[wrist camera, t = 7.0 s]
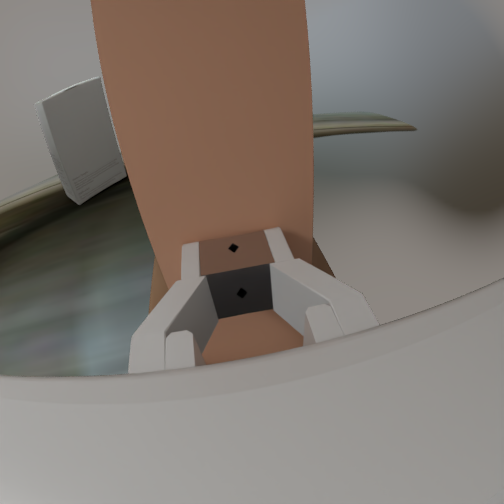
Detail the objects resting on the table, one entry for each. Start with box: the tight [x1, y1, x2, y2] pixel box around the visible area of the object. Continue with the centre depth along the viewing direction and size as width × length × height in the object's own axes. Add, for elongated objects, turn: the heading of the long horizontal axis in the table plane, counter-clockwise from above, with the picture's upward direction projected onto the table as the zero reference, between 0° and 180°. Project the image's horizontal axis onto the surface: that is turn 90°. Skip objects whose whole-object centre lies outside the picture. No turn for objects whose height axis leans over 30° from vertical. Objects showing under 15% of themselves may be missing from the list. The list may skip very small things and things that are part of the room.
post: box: [91, 0, 314, 365], centre depth 11 cm, size 5×6×16 cm
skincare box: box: [35, 77, 127, 205], centre depth 31 cm, size 8×6×15 cm
